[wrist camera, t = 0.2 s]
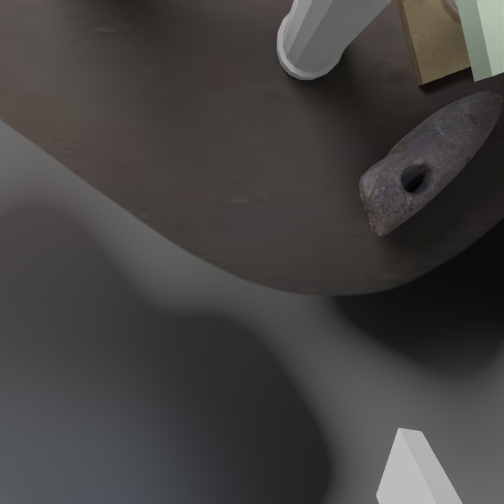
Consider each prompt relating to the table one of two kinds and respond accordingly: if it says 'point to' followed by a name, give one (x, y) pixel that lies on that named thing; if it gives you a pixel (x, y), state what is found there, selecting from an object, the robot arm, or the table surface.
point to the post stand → (434, 38)
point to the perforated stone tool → (427, 160)
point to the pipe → (321, 33)
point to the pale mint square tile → (483, 35)
